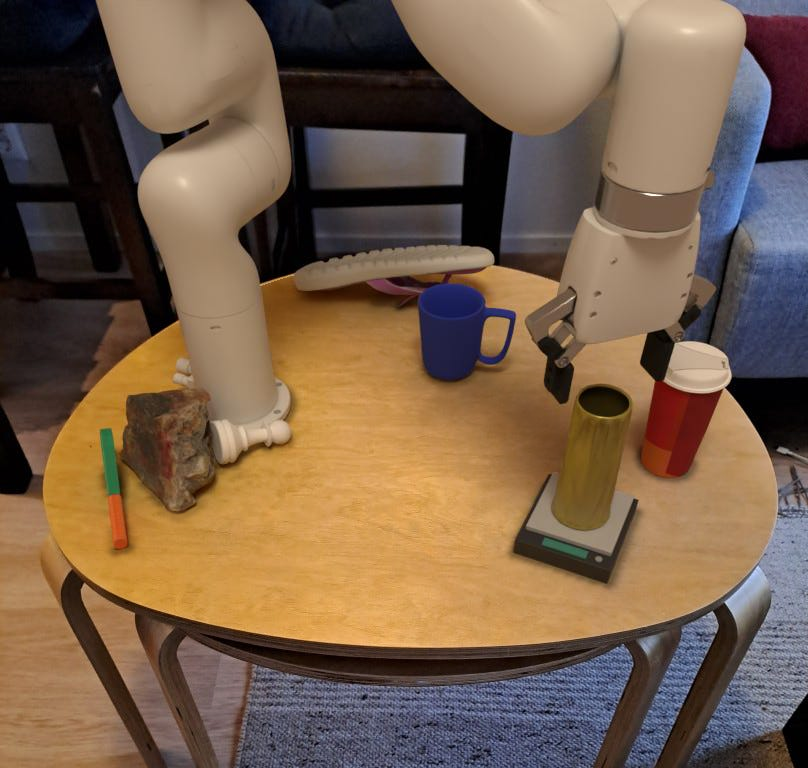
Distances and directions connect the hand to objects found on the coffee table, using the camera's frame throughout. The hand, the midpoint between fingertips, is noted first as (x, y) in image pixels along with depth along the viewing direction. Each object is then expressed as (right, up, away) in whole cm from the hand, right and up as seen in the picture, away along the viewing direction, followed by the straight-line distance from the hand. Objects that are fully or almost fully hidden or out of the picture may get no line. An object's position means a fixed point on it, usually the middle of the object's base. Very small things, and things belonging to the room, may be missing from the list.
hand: (604, 383), depth 73 cm
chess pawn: (-40, -3, +19) cm, 44 cm away
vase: (0, -11, +12) cm, 16 cm away
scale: (0, -13, +13) cm, 19 cm away
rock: (-40, -6, +20) cm, 46 cm away
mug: (-10, +8, +33) cm, 35 cm away
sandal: (-20, +26, +40) cm, 52 cm away
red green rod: (-49, -8, +16) cm, 52 cm away
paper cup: (+12, -5, +21) cm, 24 cm away
